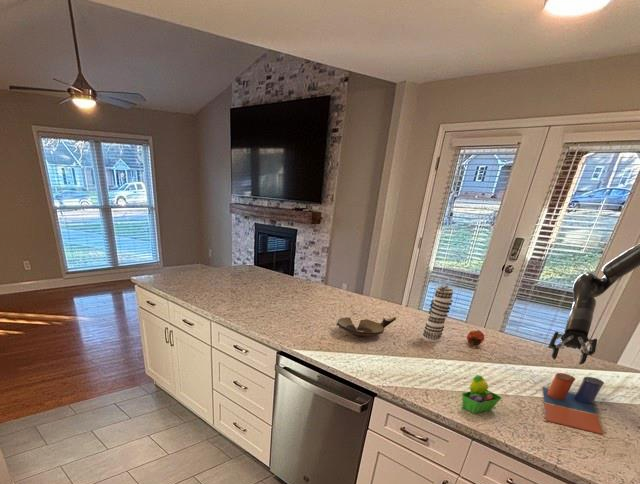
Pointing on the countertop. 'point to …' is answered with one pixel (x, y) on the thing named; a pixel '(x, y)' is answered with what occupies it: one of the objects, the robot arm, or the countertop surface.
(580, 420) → the terracotta mat
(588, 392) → the blue canister
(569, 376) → the terracotta canister
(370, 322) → the oil lamp
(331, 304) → the countertop surface
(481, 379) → the fruit basket
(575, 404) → the blue mat
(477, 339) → the pomegranate
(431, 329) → the striped cylindrical tower
